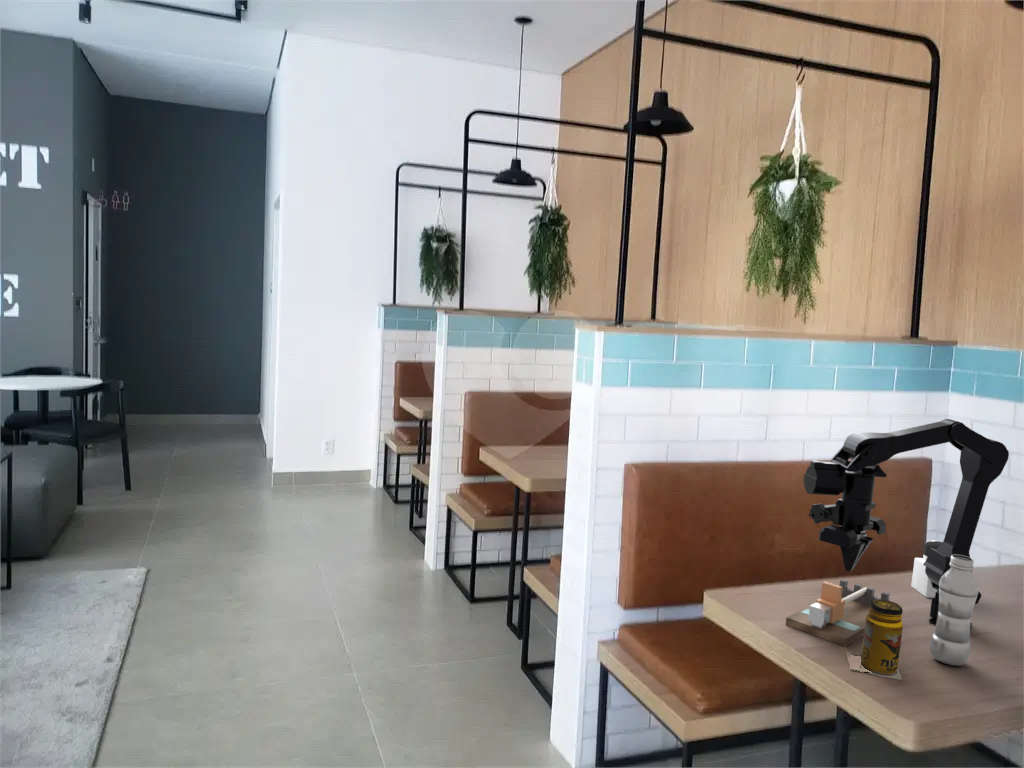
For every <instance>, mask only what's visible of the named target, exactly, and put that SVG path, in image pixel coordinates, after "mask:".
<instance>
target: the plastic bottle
mask: <svg viewBox="0 0 1024 768" xmlns="http://www.w3.org/2000/svg"><path fill="white" fill-rule="evenodd" d="M949 565H950V566H951V568H950V569H949V570H948V571H947V572H945V573H944V575H943V576H942V577H941V579H940V581H939V611H938V619H937V623H936V624H935V628H934V632H933V633H932V636H931V640H930V643H929V647H930V653H931V655H932V657H933V658H934V659H935V660H937V661H938V662H941V663H943V664H945V665H950V666H955V667H956V666H957V667H959V666H963V665H965V664H966V663H967V662H968V661H969V659H970V658H969V657H970V655H971V644H970V643H971V642H970V632H971V627H970V622H971V621H972V616H973V611H974V608H975V605H976V604H975V602H976V599H977V595H978V591H979V592H980V590H979V589H980V588H979V585H978V582H977V579H976V578H975V576H974V575H973V573H971V571H972V572H973V570H974V559H973V557H971V556H970V557H968V556H964V555H958V554H953V555H951V561H950V564H949ZM971 623H972V622H971Z"/></svg>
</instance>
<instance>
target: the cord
mask: <svg viewBox="0 0 1024 768" xmlns="http://www.w3.org/2000/svg"><path fill="white" fill-rule="evenodd" d="M867 588H868V587H862V589H861V590H859V591H857V592H855V593H853V594H851V595H849V596H847V597H845V598H843V600H845V604H847V603H849V602H851V601H853V600H855V599H857V598H859V597H861V596H862V595H864V594H866V589H867Z"/></svg>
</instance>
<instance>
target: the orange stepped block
mask: <svg viewBox="0 0 1024 768" xmlns="http://www.w3.org/2000/svg"><path fill="white" fill-rule="evenodd" d="M842 590H843V587H842V586H840V584H839V585H838V584H835V583H831V582H829V581H823V582H822V585H821V592H820V598H817V599H816V600H815V603H816V602H818V603H821V604H824V605H827V606H830V607H832V610H831V619H830V622H829V623H834V622H836V621H838V620H839V619H841V618H843V614H844V606H845V600H843V599H841V598H842Z"/></svg>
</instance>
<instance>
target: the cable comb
mask: <svg viewBox="0 0 1024 768" xmlns="http://www.w3.org/2000/svg"><path fill="white" fill-rule="evenodd" d="M848 583H849V580H846V579H843V578H842V579H840V581H839V586H842V587H843V590H842V597H844V598H845V597H847V596H849V595H851V594H853V593H855V592H857V591H859V590H861V589H863V585H862V584H860V583H855V584H853V589H852V588H848V586H849V584H848ZM866 588H867V589H866V594H864V595H862V596H861V597H859V598H857V599H855V600H853V601H856V602H860V603H863V604H866V605H869V606H870V603H871V601H873V600H877V599H882V600H887V601H890V593H888V592H885V591H883V592H881V595H880V597H877V596H875V588H873V587H870V586H868V587H866Z"/></svg>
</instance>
